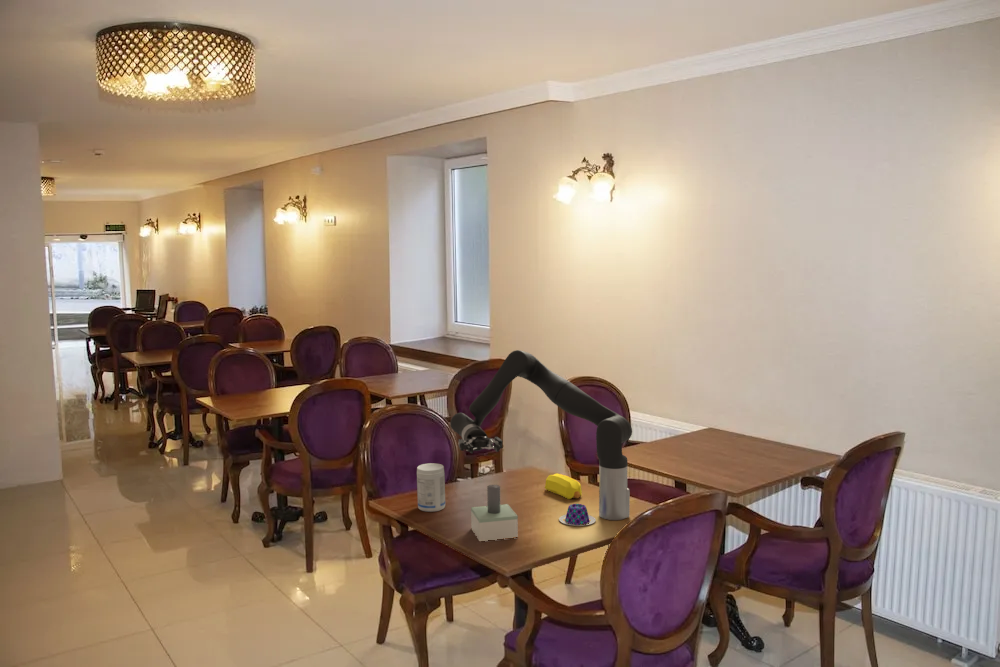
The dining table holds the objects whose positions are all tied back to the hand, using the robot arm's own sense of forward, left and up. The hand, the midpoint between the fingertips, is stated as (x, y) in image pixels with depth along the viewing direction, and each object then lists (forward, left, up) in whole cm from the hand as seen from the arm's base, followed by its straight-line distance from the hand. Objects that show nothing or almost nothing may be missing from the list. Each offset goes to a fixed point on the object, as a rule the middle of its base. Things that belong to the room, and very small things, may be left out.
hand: (485, 449), depth 249 cm
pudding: (-29, +7, -25) cm, 39 cm away
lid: (0, +11, -20) cm, 23 cm away
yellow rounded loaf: (-34, -22, -25) cm, 47 cm away
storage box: (0, +11, -24) cm, 27 cm away
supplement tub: (+15, -19, -24) cm, 34 cm away
